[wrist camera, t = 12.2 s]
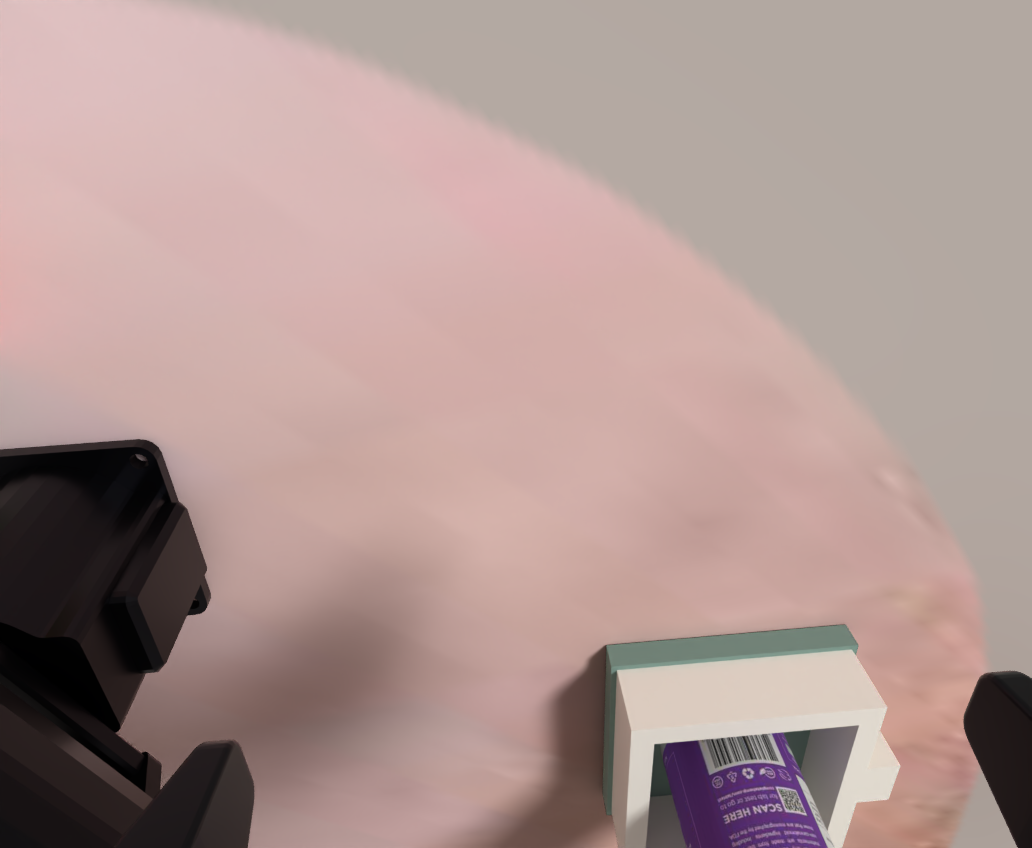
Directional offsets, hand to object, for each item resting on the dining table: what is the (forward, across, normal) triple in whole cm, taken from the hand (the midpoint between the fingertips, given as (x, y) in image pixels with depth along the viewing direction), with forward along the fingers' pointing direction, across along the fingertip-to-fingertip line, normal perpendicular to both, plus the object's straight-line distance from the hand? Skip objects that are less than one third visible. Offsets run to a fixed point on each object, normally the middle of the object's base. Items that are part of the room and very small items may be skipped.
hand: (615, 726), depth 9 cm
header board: (+13, -7, +18) cm, 23 cm away
